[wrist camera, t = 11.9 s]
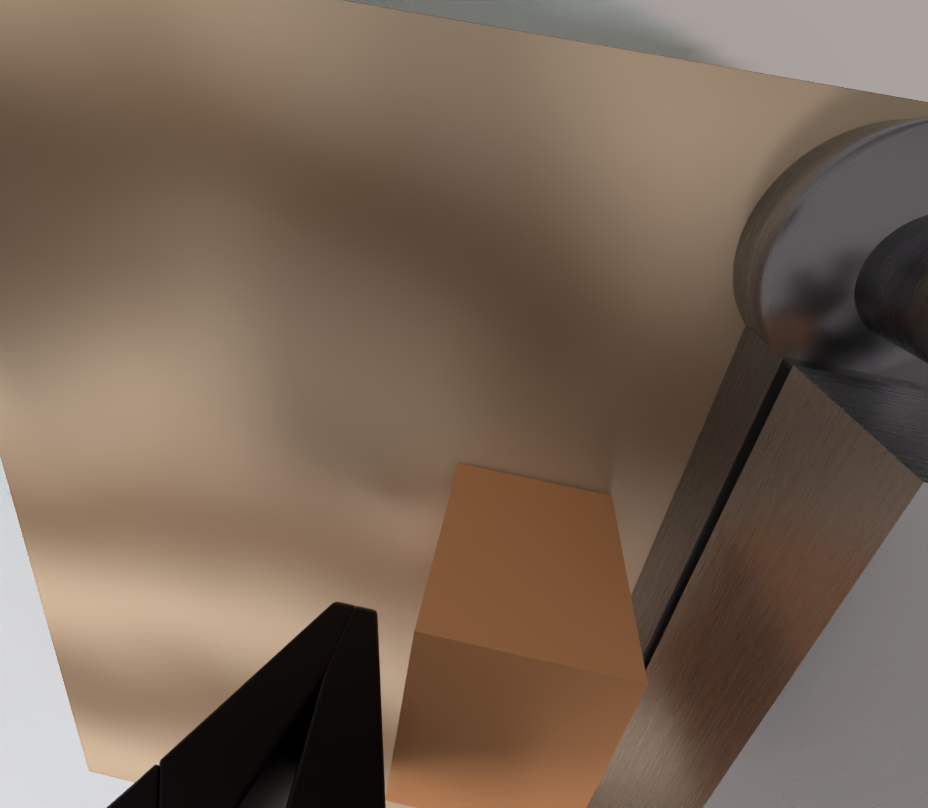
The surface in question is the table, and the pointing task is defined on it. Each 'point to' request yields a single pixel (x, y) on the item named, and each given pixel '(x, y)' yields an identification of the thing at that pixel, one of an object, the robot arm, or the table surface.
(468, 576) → the tan rectangular block
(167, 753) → the robot arm
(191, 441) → the serving board
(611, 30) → the table surface
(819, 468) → the tongs upper
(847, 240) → the tongs lower
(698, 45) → the table surface
